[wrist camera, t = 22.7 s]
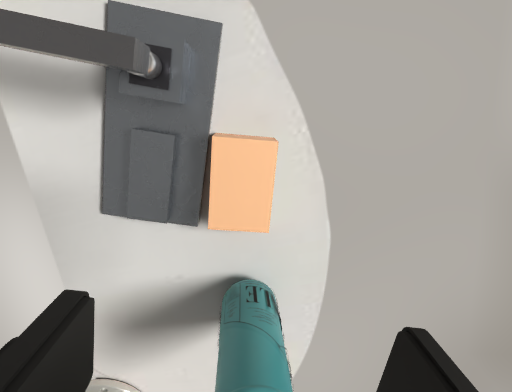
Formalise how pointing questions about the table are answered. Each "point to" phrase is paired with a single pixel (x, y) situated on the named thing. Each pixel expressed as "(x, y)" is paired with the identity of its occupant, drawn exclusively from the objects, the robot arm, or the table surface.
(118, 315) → the table surface
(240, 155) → the cover
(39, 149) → the table surface
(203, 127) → the latch base
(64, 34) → the t key
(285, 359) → the beverage bottle
